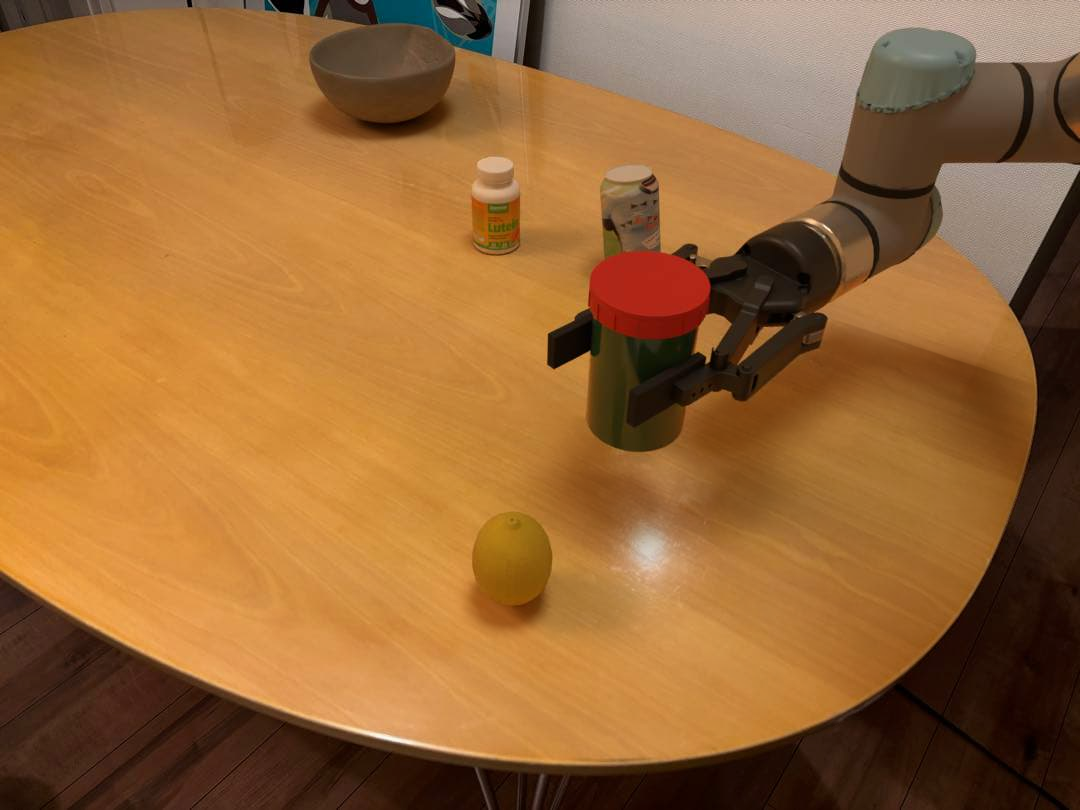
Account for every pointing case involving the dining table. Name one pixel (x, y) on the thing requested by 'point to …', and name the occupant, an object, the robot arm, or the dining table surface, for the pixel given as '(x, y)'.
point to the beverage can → (630, 210)
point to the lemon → (512, 558)
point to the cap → (649, 294)
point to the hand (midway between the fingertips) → (590, 379)
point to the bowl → (383, 71)
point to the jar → (631, 386)
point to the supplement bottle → (495, 206)
